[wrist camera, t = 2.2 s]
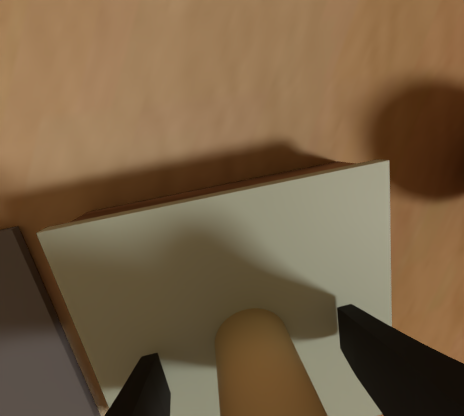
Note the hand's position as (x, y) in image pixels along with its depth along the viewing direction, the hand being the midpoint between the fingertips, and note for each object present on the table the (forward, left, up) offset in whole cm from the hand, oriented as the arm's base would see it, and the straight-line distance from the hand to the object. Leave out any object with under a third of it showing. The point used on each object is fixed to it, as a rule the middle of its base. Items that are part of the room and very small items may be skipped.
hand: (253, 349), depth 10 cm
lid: (0, 0, -2) cm, 2 cm away
